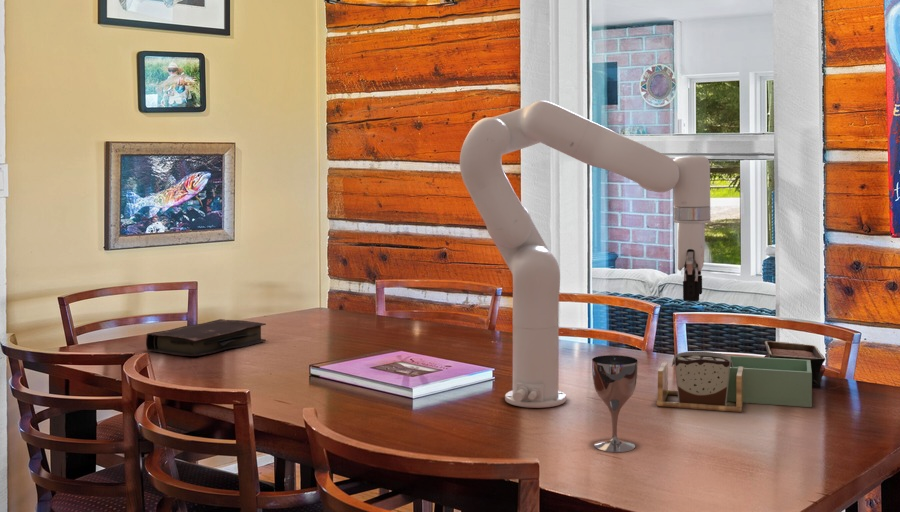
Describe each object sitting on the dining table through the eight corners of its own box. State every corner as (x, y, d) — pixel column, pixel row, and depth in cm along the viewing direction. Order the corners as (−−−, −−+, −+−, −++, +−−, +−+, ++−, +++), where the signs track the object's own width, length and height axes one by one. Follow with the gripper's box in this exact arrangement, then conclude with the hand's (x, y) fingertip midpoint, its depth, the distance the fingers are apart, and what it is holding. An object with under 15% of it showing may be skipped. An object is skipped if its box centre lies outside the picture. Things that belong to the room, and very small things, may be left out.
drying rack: (741, 412, 190) (741, 377, 190) (656, 406, 195) (657, 371, 195) (743, 399, 201) (743, 365, 201) (663, 393, 206) (663, 360, 206)
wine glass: (633, 438, 173) (633, 355, 173) (641, 452, 165) (641, 364, 165) (589, 439, 172) (589, 355, 172) (594, 453, 164) (594, 365, 165)
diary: (145, 351, 248) (145, 331, 249) (218, 335, 270) (218, 317, 270) (196, 359, 239) (196, 338, 239) (268, 342, 261) (268, 323, 261)
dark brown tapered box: (825, 383, 223) (821, 339, 225) (828, 389, 206) (824, 341, 208) (761, 384, 227) (757, 341, 229) (759, 390, 210) (756, 343, 212)
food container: (729, 399, 200) (729, 351, 200) (733, 407, 194) (733, 357, 194) (669, 398, 202) (669, 350, 202) (671, 405, 196) (671, 356, 196)
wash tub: (811, 407, 195) (811, 372, 195) (722, 401, 199) (722, 367, 199) (810, 392, 207) (810, 359, 207) (726, 387, 212) (726, 355, 212)
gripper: (677, 212, 210) (678, 291, 210) (670, 218, 194) (670, 303, 194) (712, 212, 208) (713, 292, 208) (708, 218, 192) (709, 304, 192)
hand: (692, 297), depth 201 cm, fingers open, 9 cm apart
